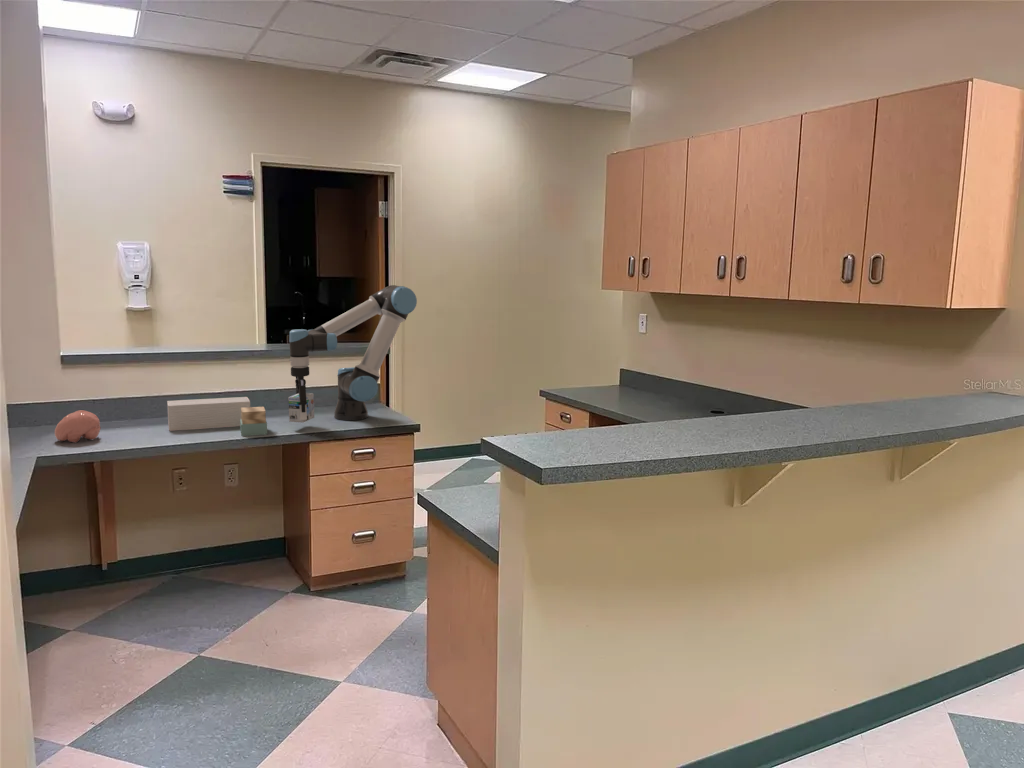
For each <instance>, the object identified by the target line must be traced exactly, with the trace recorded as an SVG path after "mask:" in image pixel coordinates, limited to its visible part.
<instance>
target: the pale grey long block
mask: <svg viewBox="0 0 1024 768" xmlns="http://www.w3.org/2000/svg"><path fill="white" fill-rule="evenodd" d="M166 402H167V403H166V404H167V420H168V421H167V423H168V431H169V432H170V431H171V432H172V431H186V430H187V431H188V430H200V429H201V430H202V429H215V428H218V429H219V428H232V427H240V419H241V408H246V407H251V400H250V399H249V398H248V396H240V397H239V396H238V397H237V396H236V397H235V396H234V397H218V398H216V397H215V398H201V399H200V398H198V399H197V398H196V399H179V400H176V399H175V400H166Z"/></svg>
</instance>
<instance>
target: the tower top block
mask: <svg viewBox="0 0 1024 768" xmlns="http://www.w3.org/2000/svg"><path fill="white" fill-rule="evenodd" d="M266 413H267V412H266V409H265V407H264V406H250V407H246V408H241V420H242V424H256V423H266V422H267V420H266V418H267V417H266Z"/></svg>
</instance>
